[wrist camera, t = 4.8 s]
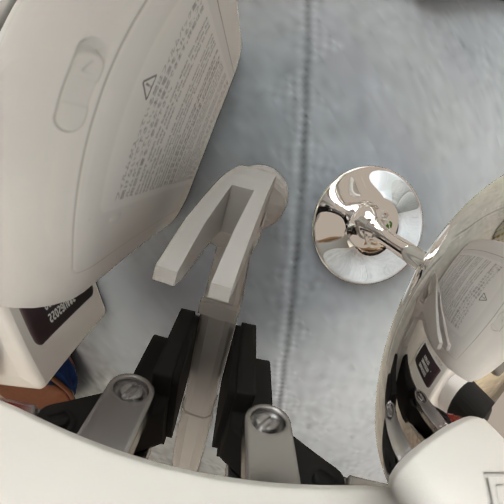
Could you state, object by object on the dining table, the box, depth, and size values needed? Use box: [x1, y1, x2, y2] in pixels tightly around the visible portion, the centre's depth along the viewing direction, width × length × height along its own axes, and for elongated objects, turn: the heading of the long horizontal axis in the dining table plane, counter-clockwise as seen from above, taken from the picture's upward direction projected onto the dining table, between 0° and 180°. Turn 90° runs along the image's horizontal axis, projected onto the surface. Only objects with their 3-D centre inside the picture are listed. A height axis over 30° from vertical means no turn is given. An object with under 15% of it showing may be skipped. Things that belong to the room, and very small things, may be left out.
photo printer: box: [0, 0, 242, 308], centre depth 8 cm, size 10×4×12 cm, turn 159°
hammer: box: [152, 165, 288, 471], centre depth 15 cm, size 3×10×30 cm
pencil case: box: [0, 356, 78, 409], centre depth 17 cm, size 11×20×5 cm, turn 143°
